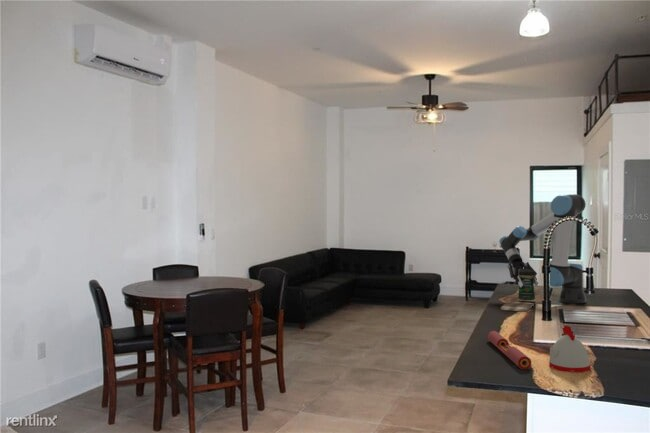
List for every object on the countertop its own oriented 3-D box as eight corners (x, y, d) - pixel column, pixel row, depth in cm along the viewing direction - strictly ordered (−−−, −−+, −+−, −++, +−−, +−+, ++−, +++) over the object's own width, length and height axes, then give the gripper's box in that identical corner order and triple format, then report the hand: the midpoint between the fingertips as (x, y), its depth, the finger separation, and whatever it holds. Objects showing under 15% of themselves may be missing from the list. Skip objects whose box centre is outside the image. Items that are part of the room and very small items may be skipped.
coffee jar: (517, 300, 340) (516, 269, 340) (519, 298, 348) (518, 268, 347) (534, 300, 336) (533, 269, 336) (536, 298, 343) (535, 268, 343)
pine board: (533, 305, 329) (533, 302, 329) (526, 311, 312) (526, 308, 312) (509, 303, 337) (509, 301, 337) (500, 309, 320) (500, 306, 320)
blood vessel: (487, 342, 248) (487, 330, 248) (499, 341, 248) (498, 330, 248) (517, 370, 207) (517, 356, 206) (531, 369, 206) (531, 356, 206)
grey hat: (578, 360, 215) (578, 321, 215) (597, 371, 201) (596, 329, 201) (543, 362, 215) (542, 323, 214) (559, 373, 201) (558, 331, 201)
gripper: (527, 260, 359) (543, 288, 344) (495, 262, 354) (510, 290, 339) (532, 252, 354) (548, 280, 339) (500, 254, 349) (515, 282, 333)
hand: (529, 285), depth 339 cm, fingers closed on coffee jar, 10 cm apart
